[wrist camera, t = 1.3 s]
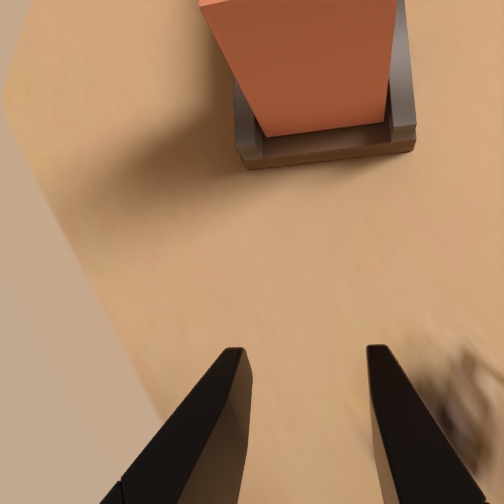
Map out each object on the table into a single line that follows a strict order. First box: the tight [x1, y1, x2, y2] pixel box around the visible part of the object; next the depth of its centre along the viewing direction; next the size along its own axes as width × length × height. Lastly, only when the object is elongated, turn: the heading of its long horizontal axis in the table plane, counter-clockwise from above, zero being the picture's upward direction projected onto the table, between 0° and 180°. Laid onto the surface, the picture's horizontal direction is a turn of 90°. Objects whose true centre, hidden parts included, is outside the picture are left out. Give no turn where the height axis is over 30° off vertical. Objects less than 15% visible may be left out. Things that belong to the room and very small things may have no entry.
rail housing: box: [234, 0, 417, 170], centre depth 23 cm, size 14×9×4 cm, turn 2°
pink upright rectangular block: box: [199, 0, 398, 138], centre depth 18 cm, size 4×6×10 cm, turn 92°
